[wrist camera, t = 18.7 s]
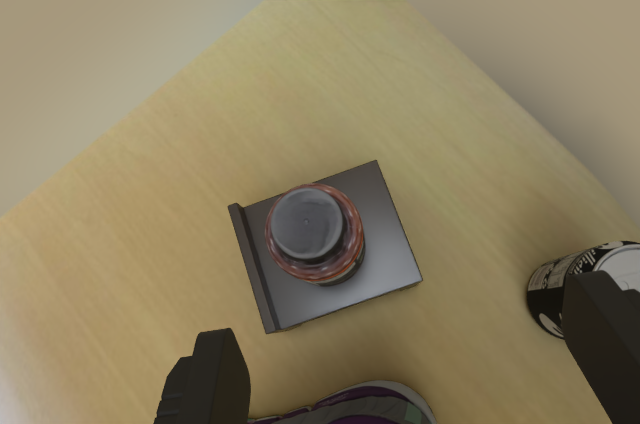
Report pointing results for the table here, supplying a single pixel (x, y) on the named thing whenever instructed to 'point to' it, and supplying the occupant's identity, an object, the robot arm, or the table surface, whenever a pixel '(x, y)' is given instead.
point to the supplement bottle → (316, 234)
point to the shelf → (316, 301)
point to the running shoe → (361, 407)
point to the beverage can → (549, 280)
